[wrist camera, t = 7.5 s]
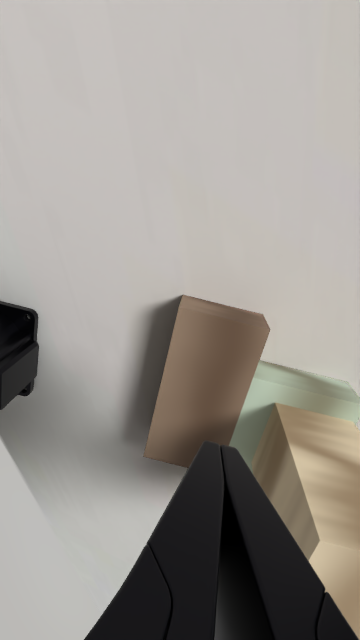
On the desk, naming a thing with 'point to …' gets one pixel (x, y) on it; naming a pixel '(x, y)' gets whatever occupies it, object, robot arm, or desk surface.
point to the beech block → (317, 495)
